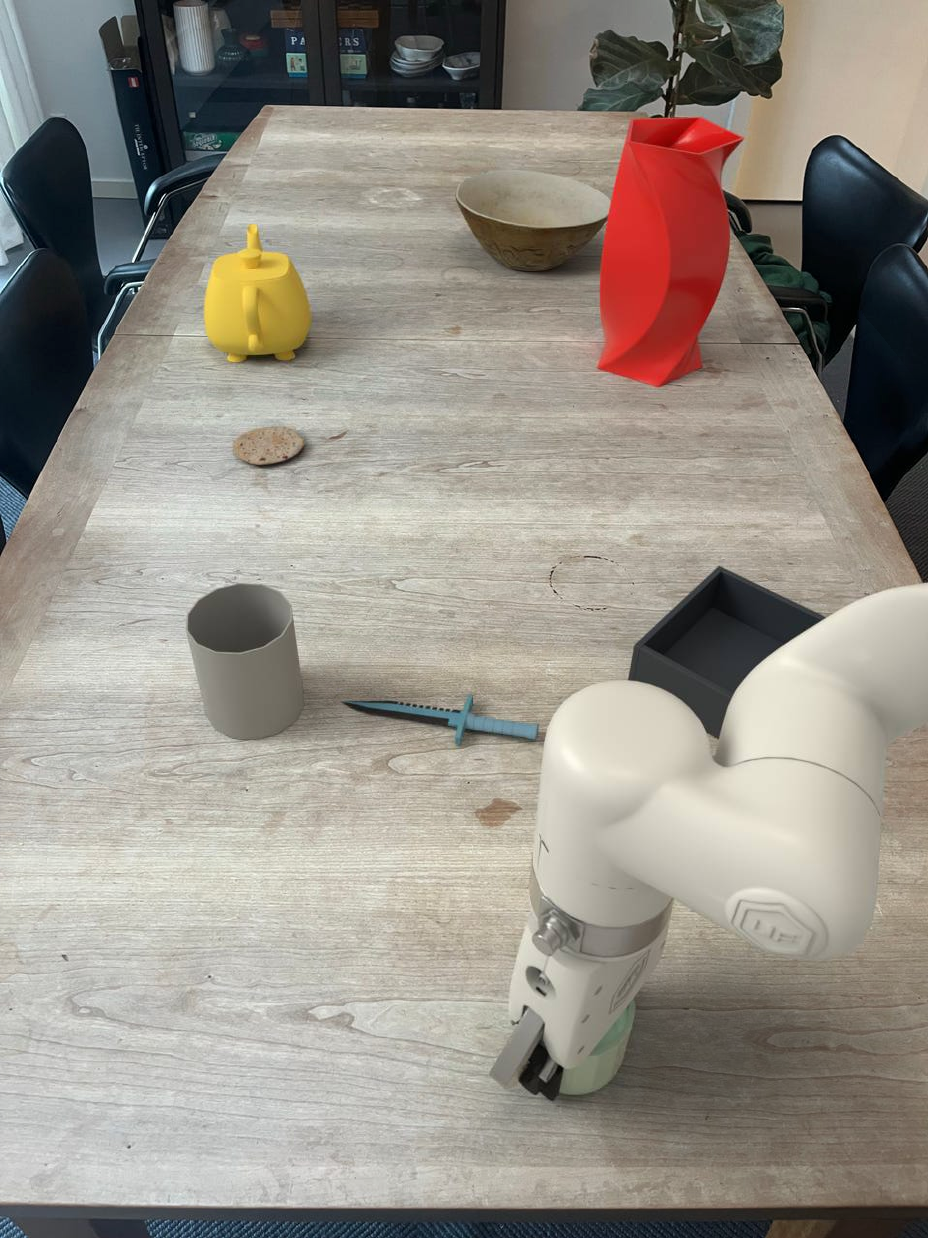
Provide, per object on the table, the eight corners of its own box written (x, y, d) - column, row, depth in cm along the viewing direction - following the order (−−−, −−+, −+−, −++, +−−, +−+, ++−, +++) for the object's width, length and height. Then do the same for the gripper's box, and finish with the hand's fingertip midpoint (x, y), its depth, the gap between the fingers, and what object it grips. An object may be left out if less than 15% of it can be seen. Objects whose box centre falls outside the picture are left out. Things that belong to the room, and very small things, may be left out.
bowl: (615, 237, 162) (623, 173, 156) (595, 299, 145) (602, 230, 139) (474, 222, 166) (475, 159, 159) (438, 280, 149) (438, 212, 142)
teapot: (204, 379, 127) (187, 282, 118) (215, 309, 141) (200, 218, 133) (314, 374, 128) (304, 278, 119) (313, 305, 142) (304, 215, 134)
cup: (305, 734, 83) (293, 648, 77) (205, 745, 82) (184, 659, 76) (301, 663, 90) (289, 578, 83) (207, 673, 89) (188, 587, 82)
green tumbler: (644, 1036, 65) (656, 995, 61) (582, 1119, 61) (592, 1081, 57) (560, 972, 68) (566, 929, 64) (496, 1046, 64) (500, 1006, 61)
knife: (330, 718, 84) (349, 676, 88) (332, 727, 85) (350, 686, 88) (532, 747, 81) (542, 703, 84) (532, 757, 82) (542, 712, 85)
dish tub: (847, 676, 89) (864, 635, 86) (771, 770, 81) (786, 728, 78) (709, 606, 96) (719, 565, 93) (626, 686, 88) (633, 644, 85)
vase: (614, 325, 139) (640, 108, 120) (717, 344, 135) (761, 123, 117) (583, 375, 129) (607, 145, 110) (694, 397, 125) (739, 163, 106)
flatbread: (239, 472, 111) (238, 465, 111) (229, 437, 116) (227, 430, 116) (311, 460, 113) (311, 452, 113) (297, 426, 118) (297, 418, 118)
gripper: (559, 1054, 46) (535, 1191, 58) (747, 818, 55) (692, 977, 67) (437, 954, 49) (438, 1103, 61) (633, 749, 59) (601, 912, 71)
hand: (571, 1036), depth 64 cm, fingers closed on green tumbler, 6 cm apart
